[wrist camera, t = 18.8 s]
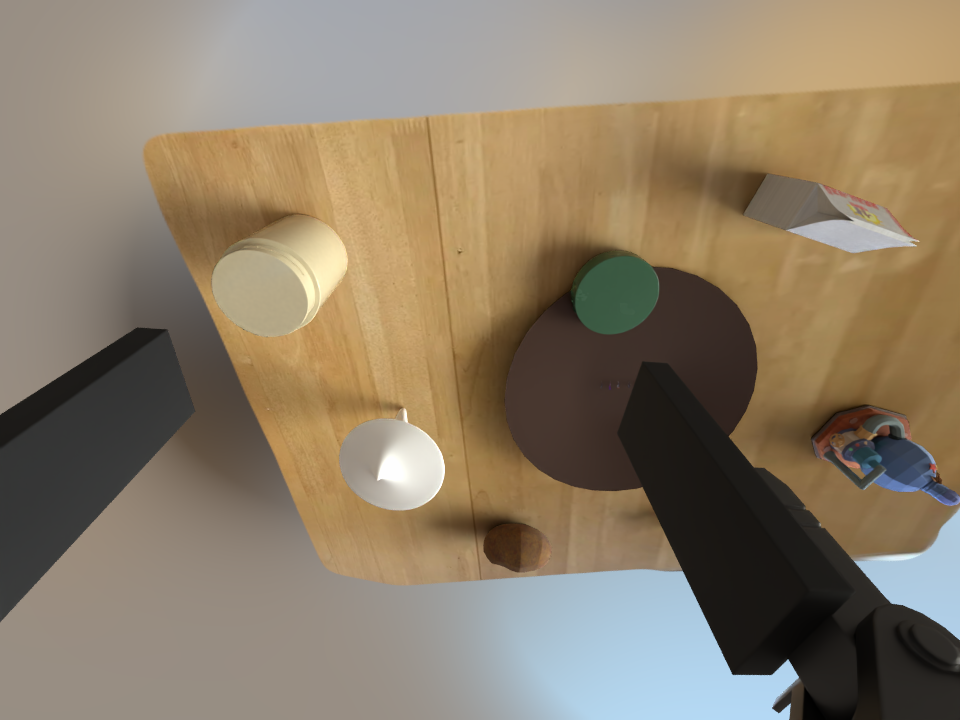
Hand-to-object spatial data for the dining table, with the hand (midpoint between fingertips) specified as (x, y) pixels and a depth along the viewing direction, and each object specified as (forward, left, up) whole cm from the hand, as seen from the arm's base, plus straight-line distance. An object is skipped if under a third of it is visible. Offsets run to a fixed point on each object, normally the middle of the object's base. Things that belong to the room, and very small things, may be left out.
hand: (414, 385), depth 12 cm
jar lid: (+4, +18, -27) cm, 32 cm away
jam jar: (+8, -12, -29) cm, 32 cm away
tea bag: (-8, +30, -29) cm, 42 cm away
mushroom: (+24, 0, -29) cm, 38 cm away
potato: (+42, +20, -29) cm, 55 cm away
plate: (+14, +24, -29) cm, 40 cm away
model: (+14, +58, -29) cm, 66 cm away
